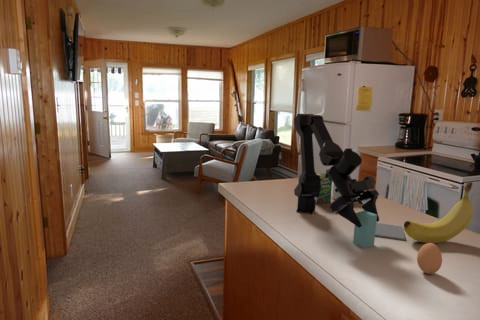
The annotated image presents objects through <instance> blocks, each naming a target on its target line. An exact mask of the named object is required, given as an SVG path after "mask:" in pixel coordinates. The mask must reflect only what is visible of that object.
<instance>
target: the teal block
mask: <svg viewBox="0 0 480 320" xmlns="http://www.w3.org/2000/svg"><path fill="white" fill-rule="evenodd" d="M355 213H356V215H357V217H358V219H359V220H360V222H361V225H362V227H360V228H359V227H357V226H356V225H354V230H353V242H352V243H353V244H354V245H357V246H358V247H359V246H360V247H362V248H364V249H367V248H369V247H372V246H374V245H375V238H376V236H375V230H376V223H377V222H376V221H377V214H374V213H370V212H367V211H365V210H362V211H358V212H355Z"/></svg>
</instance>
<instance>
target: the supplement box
mask: <svg viewBox="0 0 480 320" xmlns="http://www.w3.org/2000/svg"><path fill="white" fill-rule="evenodd" d="M351 175H352V174H350V177H351ZM351 178H352V177H351ZM335 189H336V186H335V185H334V183H333V181H332V189H331V199H334V200H336V199H337V198H338V197H340V196H341V194H340V193H339V192H335Z"/></svg>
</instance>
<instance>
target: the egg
mask: <svg viewBox="0 0 480 320" xmlns="http://www.w3.org/2000/svg"><path fill="white" fill-rule="evenodd" d="M416 262H417V266H418V267H419V269H420V270H421V271H422V272H423V273H425V274H427V275H432V274H435V273H437V272H438V271H439V270H440V269H441V267H442V264H443V256H442V252H441V249H439V246H437V245H436V243H424V244H423V245H422V246H421V248H419V250H418V252H417V257H416Z"/></svg>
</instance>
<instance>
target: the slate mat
mask: <svg viewBox="0 0 480 320" xmlns="http://www.w3.org/2000/svg"><path fill="white" fill-rule="evenodd" d="M375 237H379V238H384V239H385V238H386V239H391V240H392V239H393V240H398V241H406V240H407V239H406V236H405V231H404V228H403V226H402V225H394V224H388V223H381V222H380V223H379V222H376V230H375Z"/></svg>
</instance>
